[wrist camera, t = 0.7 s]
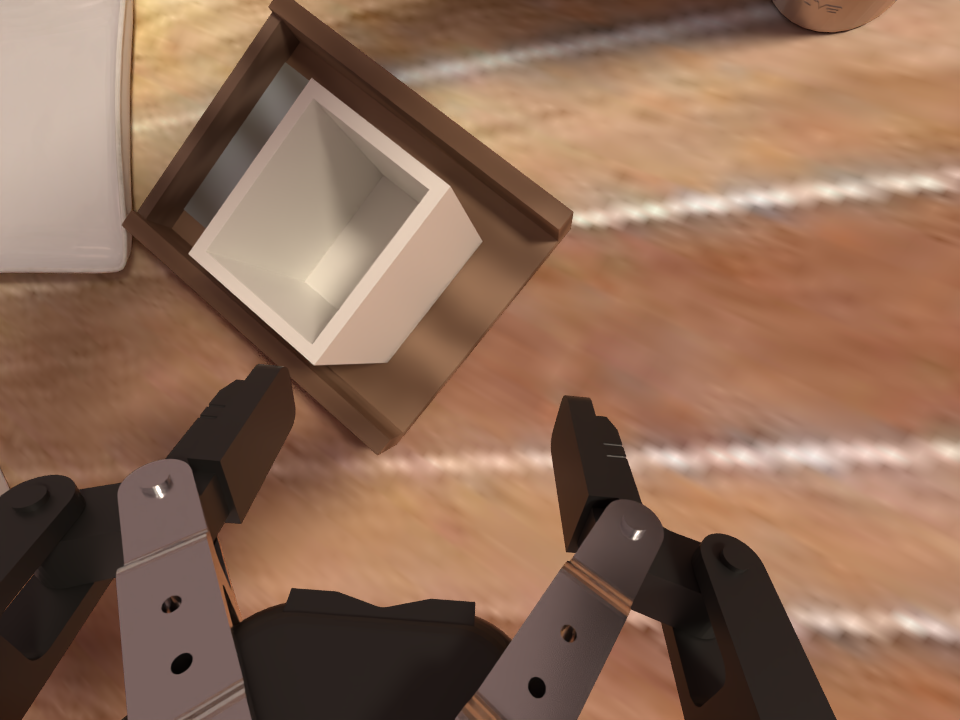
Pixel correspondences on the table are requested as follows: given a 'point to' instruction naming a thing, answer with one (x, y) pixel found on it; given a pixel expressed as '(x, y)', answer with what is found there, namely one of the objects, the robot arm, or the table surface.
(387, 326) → the box
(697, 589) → the robot arm
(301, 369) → the bay
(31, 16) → the square plate
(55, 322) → the table surface
